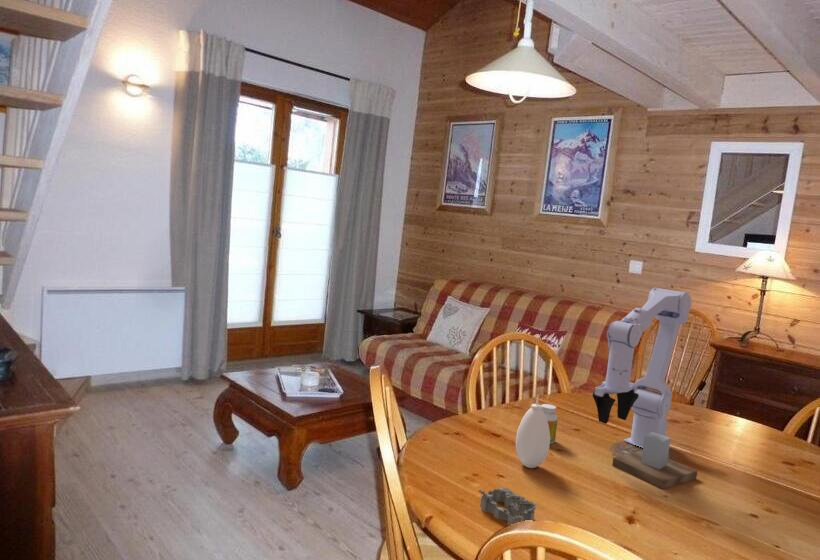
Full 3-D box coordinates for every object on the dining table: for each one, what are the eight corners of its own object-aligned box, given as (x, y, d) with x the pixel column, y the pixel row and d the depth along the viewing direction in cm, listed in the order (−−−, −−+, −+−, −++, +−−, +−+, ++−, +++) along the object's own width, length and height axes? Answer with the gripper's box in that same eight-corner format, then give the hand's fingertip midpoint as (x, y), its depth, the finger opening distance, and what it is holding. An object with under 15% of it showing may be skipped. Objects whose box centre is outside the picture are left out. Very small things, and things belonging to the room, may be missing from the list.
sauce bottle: (507, 460, 145) (515, 389, 143) (535, 458, 147) (543, 389, 146) (524, 474, 137) (532, 400, 136) (552, 472, 140) (561, 399, 138)
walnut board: (645, 456, 156) (646, 449, 155) (696, 478, 144) (697, 470, 144) (612, 465, 148) (613, 457, 148) (662, 489, 136) (664, 481, 136)
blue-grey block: (648, 458, 149) (652, 432, 148) (666, 465, 146) (670, 437, 145) (640, 462, 146) (644, 435, 145) (659, 469, 143) (663, 441, 142)
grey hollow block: (474, 508, 120) (476, 488, 119) (499, 499, 125) (501, 480, 124) (514, 532, 112) (516, 511, 111) (539, 521, 116) (541, 502, 116)
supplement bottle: (555, 445, 158) (559, 410, 157) (534, 442, 159) (539, 407, 158) (554, 438, 163) (558, 404, 162) (534, 435, 164) (538, 401, 163)
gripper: (623, 362, 156) (617, 412, 158) (587, 366, 148) (581, 418, 149) (647, 369, 150) (640, 421, 152) (611, 374, 142) (604, 428, 144)
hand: (612, 420), depth 150 cm, fingers open, 7 cm apart
